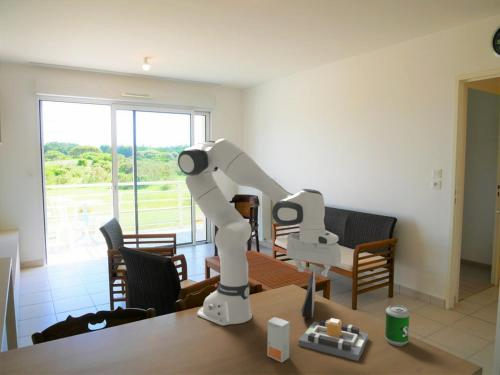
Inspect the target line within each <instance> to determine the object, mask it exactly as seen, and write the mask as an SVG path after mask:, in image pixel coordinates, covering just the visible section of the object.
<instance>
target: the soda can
mask: <svg viewBox="0 0 500 375" xmlns="http://www.w3.org/2000/svg"><path fill="white" fill-rule="evenodd" d="M384 330H385V331H384V334H385V335H384V336H385V340H386V341H387V342H388V343H389V344H391V345H393V346H397V347H403V346H405V345H406V344H408V343H409V336H410V335H409V334H410V312H409V310H408V309H407V308H406V307H405V306H403V305H398V304H391V305H389V306H388V307H386V308H385V329H384Z"/></svg>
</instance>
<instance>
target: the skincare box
mask: <svg viewBox="0 0 500 375" xmlns="http://www.w3.org/2000/svg"><path fill="white" fill-rule="evenodd" d="M290 325H291V324H290V321H287V320H285V319H282V318H280V317H279V318H278V317H275V316H274V317H272V318H270V319H269V320H267V354H266V356H267V357H269V358H271V359H272V360H275V361H278V362H280V363H284V362H285V361H287V360H288V359H289V358H290V335H291V334H290V333H291V332H290V329H291V328H290Z"/></svg>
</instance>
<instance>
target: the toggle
mask: <svg viewBox="0 0 500 375" xmlns="http://www.w3.org/2000/svg"><path fill="white" fill-rule="evenodd" d="M328 320H329V321H328V323H327V335H329V336H333V337H337V338H340V336H341V328H342V325H343V324H342V323H343V322H342V321H341V319H338V318H333V317H331V318H329V319H328Z"/></svg>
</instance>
